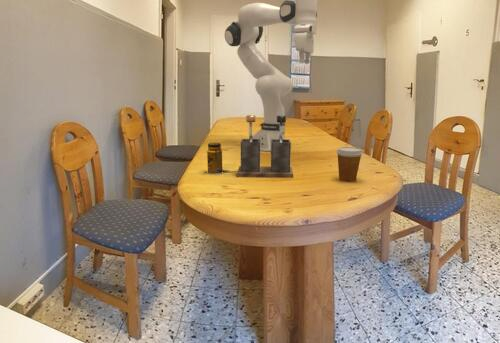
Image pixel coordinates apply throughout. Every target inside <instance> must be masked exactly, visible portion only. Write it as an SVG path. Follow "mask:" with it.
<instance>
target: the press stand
mask: <svg viewBox="0 0 500 343" xmlns="http://www.w3.org/2000/svg"><path fill="white" fill-rule="evenodd" d="M291 142H292V141H291V139H287V138H286V139H282V142H279V139H271V151H270V166H261V150H260V139H252V142H249V138H242V139H241V141H240V165H239V167H238V169H237V172H236V173H237V174H236V175H237V176H236V177H237V178H277V179H278V178H281V179H282V178H286V179H287V178H288V179H289V178H290V179H292V178H294V170H293V167H292V166H291V150H292V149H291V147H292V146H291V145H292V144H291Z"/></svg>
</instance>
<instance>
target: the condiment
mask: <svg viewBox="0 0 500 343" xmlns="http://www.w3.org/2000/svg"><path fill="white" fill-rule="evenodd" d="M206 155H207V157H206V159H207V171H208V173H207V174H209V173H211V174H210V175H215V176H216V175H220V174H224V173H228V172H229V170H228V169H223V150H222V144H221V143H220V142H210V143H208V144H207V151H206ZM222 172H223V173H222Z"/></svg>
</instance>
